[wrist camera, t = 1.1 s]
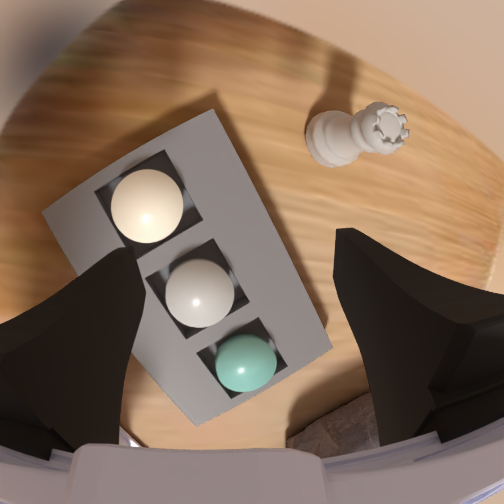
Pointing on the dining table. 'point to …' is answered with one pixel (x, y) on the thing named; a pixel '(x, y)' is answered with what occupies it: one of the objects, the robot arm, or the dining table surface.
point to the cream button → (147, 206)
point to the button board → (198, 246)
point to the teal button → (245, 362)
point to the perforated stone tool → (340, 431)
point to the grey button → (199, 292)
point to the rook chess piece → (355, 134)
